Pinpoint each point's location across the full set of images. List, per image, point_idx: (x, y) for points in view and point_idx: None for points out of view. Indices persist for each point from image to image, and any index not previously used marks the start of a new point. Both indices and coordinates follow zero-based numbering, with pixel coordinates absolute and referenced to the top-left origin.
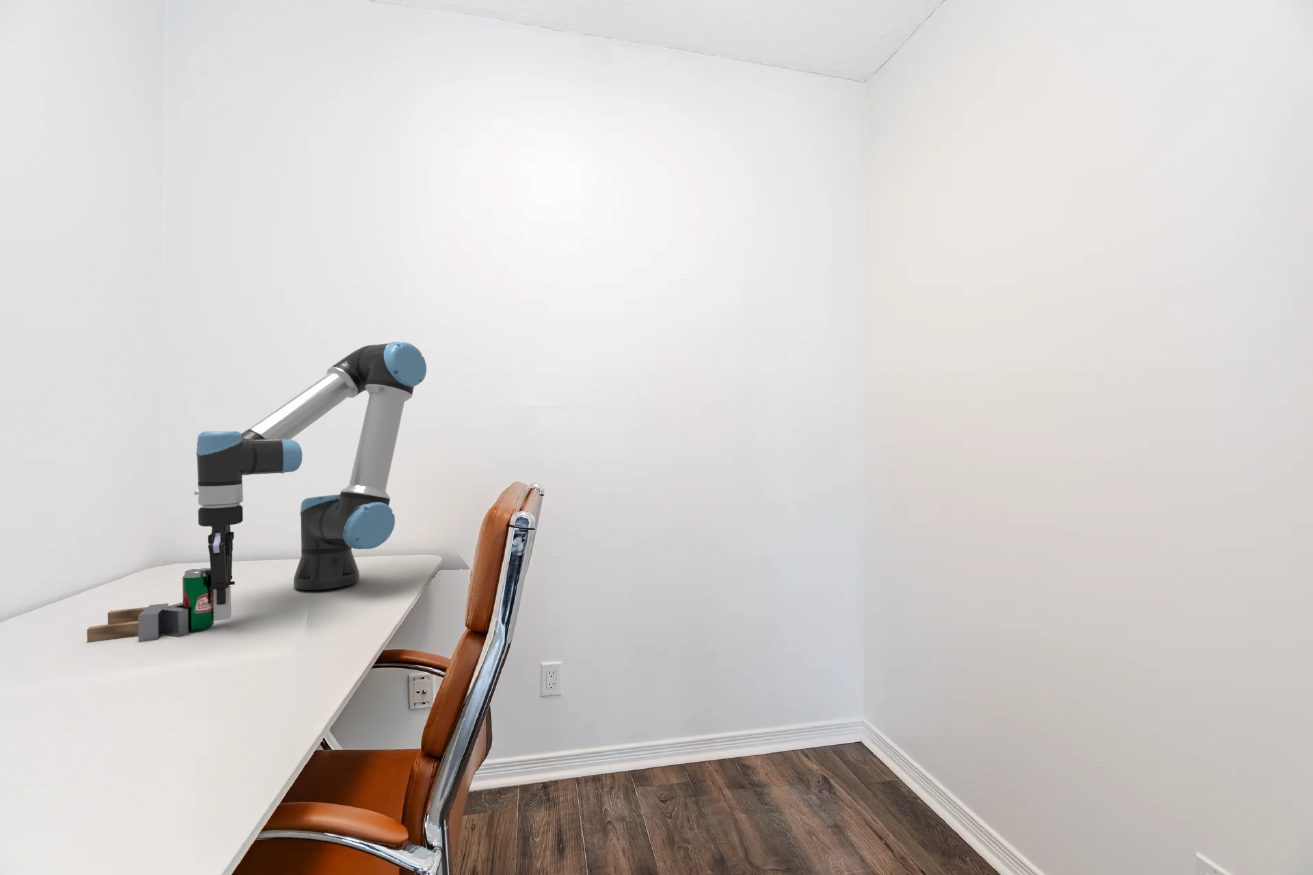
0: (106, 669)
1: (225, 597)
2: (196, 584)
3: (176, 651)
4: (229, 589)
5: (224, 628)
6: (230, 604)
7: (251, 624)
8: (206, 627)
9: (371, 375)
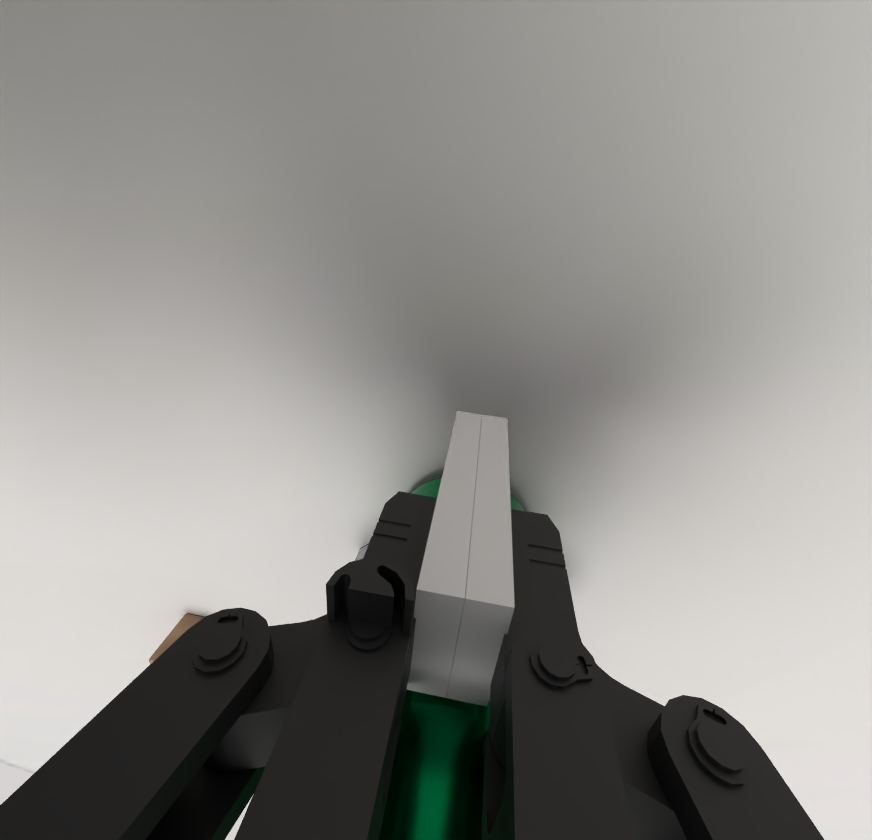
0: (843, 749)
1: (528, 551)
2: None
3: (830, 604)
4: (512, 584)
5: (549, 425)
6: (467, 461)
7: (570, 280)
8: (520, 505)
9: None
